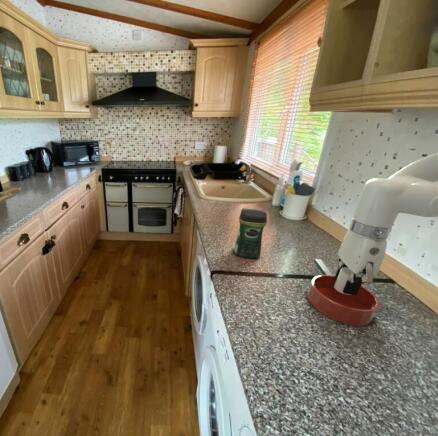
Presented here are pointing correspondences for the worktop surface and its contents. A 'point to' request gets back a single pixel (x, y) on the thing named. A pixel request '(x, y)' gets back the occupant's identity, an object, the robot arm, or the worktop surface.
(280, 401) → the worktop surface
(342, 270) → the pale grey cylinder
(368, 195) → the robot arm
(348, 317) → the pan
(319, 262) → the pan handle
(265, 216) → the coffee jar
